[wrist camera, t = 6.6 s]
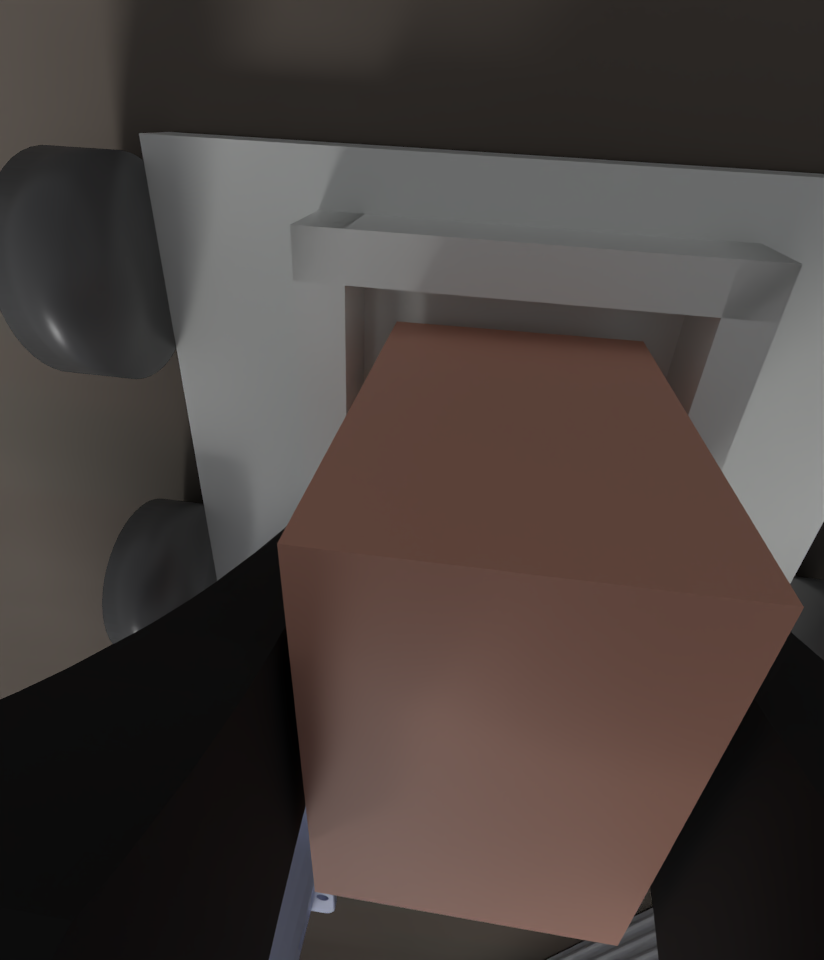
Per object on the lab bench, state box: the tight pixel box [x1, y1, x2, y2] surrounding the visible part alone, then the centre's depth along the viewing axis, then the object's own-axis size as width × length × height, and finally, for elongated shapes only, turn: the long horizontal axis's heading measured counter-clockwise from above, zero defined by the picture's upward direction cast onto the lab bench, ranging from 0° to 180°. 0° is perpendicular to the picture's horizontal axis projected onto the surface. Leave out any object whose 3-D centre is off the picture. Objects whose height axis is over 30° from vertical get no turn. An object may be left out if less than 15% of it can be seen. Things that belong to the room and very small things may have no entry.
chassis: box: [0, 132, 824, 660], centre depth 11 cm, size 11×15×4 cm
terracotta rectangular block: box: [277, 321, 804, 946], centre depth 9 cm, size 6×4×6 cm, turn 178°
